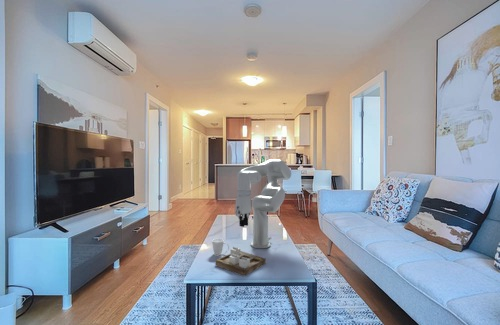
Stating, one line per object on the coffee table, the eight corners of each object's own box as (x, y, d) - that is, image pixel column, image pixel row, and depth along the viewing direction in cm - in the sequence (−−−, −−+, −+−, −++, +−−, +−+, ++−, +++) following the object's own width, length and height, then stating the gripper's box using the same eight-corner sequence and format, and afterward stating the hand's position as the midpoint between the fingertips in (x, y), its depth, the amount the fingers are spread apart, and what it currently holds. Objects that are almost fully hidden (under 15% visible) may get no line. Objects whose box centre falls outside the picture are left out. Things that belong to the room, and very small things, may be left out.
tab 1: (235, 254, 138) (235, 245, 138) (240, 255, 136) (240, 247, 136) (230, 256, 135) (230, 247, 135) (235, 258, 133) (235, 249, 133)
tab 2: (244, 265, 124) (244, 255, 124) (249, 267, 122) (249, 257, 122) (239, 268, 121) (239, 258, 121) (244, 270, 119) (244, 260, 119)
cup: (213, 251, 147) (213, 238, 147) (230, 252, 146) (230, 239, 145) (210, 256, 140) (210, 241, 140) (227, 257, 139) (227, 242, 139)
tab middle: (234, 261, 128) (234, 252, 128) (239, 263, 126) (239, 254, 126) (229, 264, 125) (229, 254, 125) (234, 266, 123) (234, 256, 123)
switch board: (238, 254, 142) (238, 249, 142) (265, 263, 131) (265, 258, 130) (215, 265, 128) (215, 259, 128) (243, 276, 116) (243, 269, 116)
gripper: (247, 191, 150) (247, 222, 150) (229, 194, 137) (229, 227, 137) (257, 192, 145) (257, 224, 145) (239, 195, 132) (239, 230, 132)
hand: (243, 225), depth 141 cm, fingers open, 2 cm apart
